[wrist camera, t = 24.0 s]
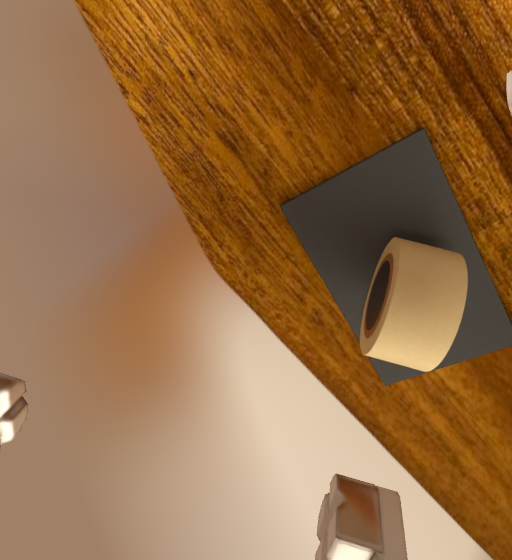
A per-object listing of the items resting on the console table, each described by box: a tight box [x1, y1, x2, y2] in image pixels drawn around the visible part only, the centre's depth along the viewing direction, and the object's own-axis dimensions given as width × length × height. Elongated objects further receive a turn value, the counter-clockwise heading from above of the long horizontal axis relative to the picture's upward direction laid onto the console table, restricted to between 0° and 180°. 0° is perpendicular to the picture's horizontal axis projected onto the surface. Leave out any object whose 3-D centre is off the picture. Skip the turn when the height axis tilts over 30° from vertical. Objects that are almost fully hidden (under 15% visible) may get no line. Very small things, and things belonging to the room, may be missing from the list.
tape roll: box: [360, 237, 468, 372], centre depth 32 cm, size 9×5×9 cm, turn 169°
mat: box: [280, 128, 512, 386], centre depth 36 cm, size 20×12×1 cm, turn 32°
